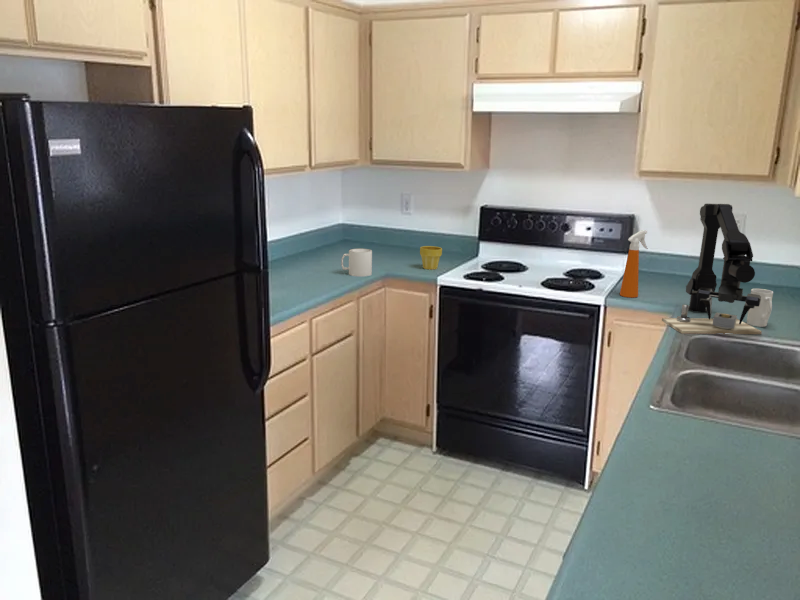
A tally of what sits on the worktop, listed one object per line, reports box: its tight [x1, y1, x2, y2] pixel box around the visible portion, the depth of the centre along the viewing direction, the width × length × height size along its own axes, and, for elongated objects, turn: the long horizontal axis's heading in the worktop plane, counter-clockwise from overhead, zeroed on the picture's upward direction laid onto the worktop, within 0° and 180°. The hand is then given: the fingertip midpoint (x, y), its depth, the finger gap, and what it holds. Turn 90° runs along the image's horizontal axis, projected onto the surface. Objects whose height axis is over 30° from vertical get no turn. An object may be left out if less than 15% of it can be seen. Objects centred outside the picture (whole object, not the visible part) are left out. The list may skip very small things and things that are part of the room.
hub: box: [715, 313, 732, 330], centre depth 219 cm, size 5×5×4 cm
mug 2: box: [746, 288, 774, 328], centre depth 225 cm, size 10×7×12 cm, turn 1°
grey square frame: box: [712, 312, 738, 329], centre depth 219 cm, size 6×6×3 cm
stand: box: [676, 304, 692, 322], centre depth 227 cm, size 4×4×6 cm
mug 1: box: [340, 248, 373, 277], centre depth 292 cm, size 14×10×11 cm
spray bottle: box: [619, 229, 649, 299], centre depth 263 cm, size 7×11×26 cm, turn 117°
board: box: [661, 317, 762, 335], centre depth 223 cm, size 15×27×1 cm, turn 93°
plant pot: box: [419, 245, 443, 270], centre depth 308 cm, size 10×10×10 cm
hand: (724, 321), depth 219 cm, fingers open, 9 cm apart
